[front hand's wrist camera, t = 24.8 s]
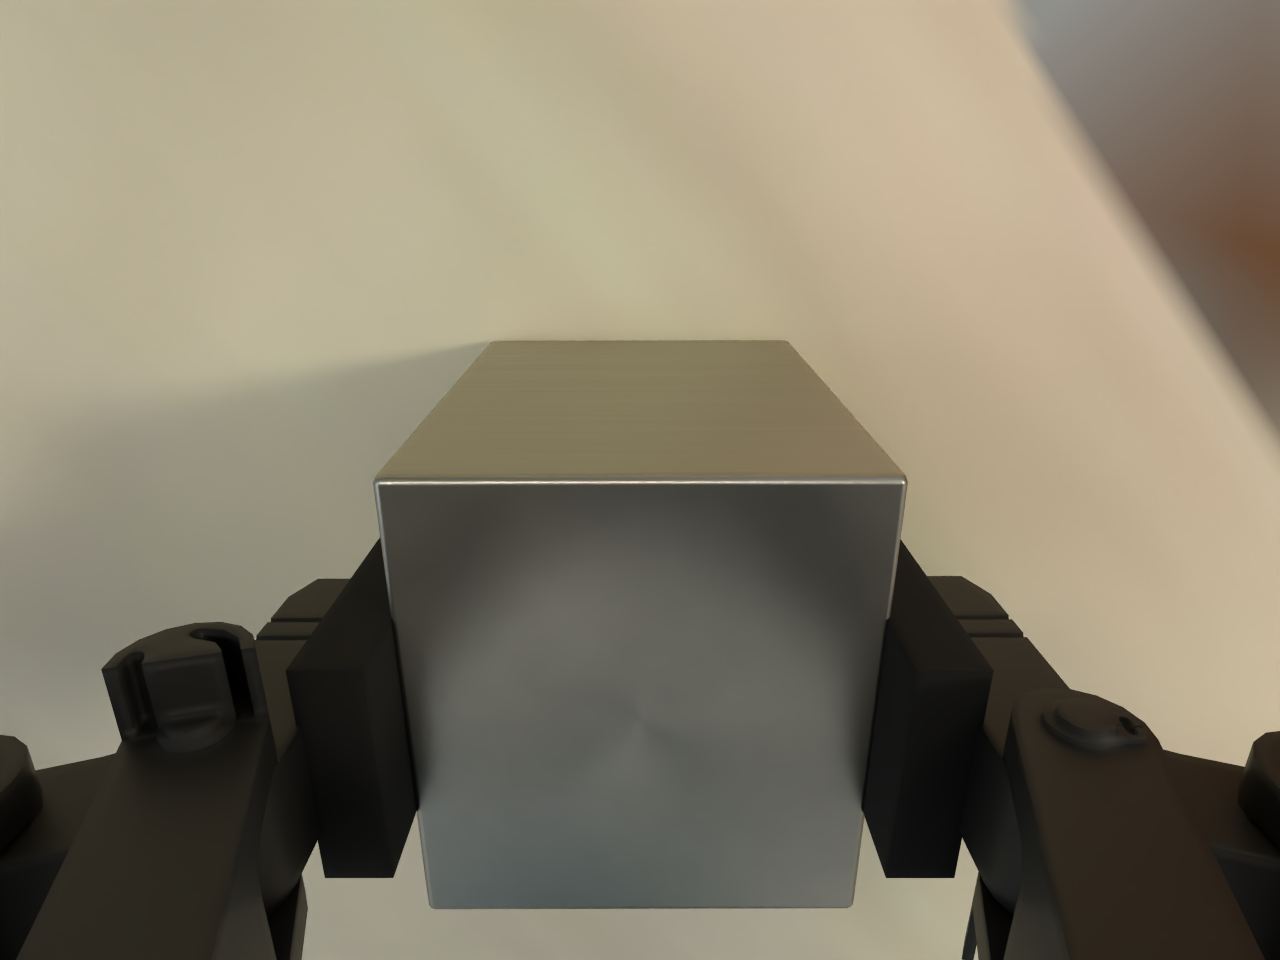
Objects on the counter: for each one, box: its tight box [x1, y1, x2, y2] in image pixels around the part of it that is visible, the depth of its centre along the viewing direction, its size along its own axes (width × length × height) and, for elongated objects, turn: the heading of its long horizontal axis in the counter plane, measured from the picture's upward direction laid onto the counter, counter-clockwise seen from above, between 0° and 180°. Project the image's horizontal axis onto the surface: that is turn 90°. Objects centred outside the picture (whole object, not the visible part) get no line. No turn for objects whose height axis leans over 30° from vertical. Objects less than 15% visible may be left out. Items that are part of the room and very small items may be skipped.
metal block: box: [373, 341, 908, 909], centre depth 12 cm, size 6×6×7 cm
